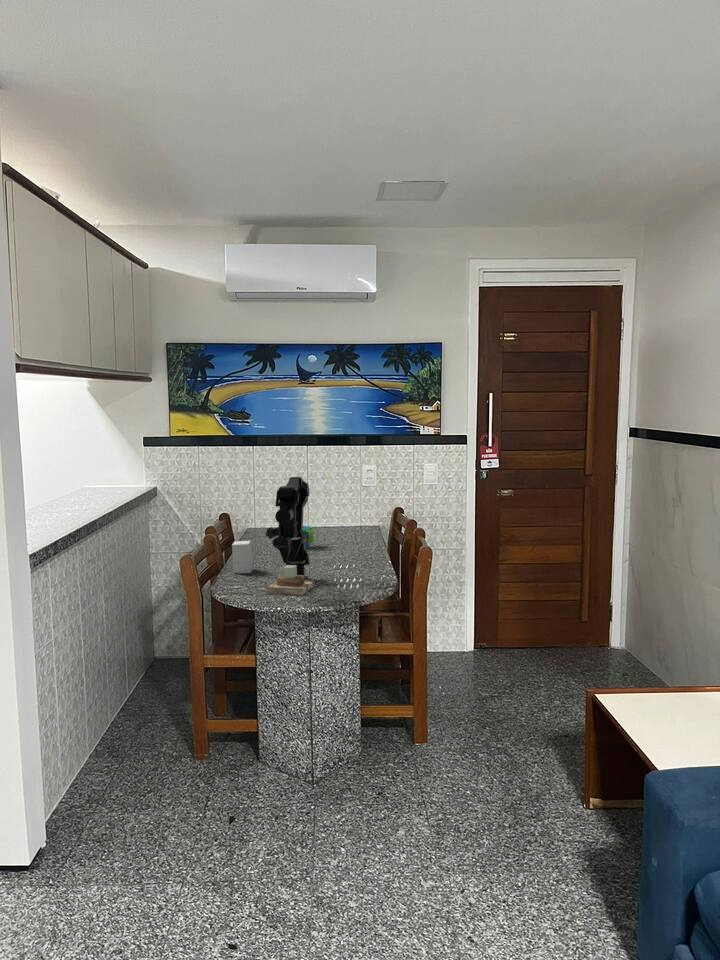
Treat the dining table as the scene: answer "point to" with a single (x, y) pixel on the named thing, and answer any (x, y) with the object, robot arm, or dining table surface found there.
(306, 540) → the snack cup
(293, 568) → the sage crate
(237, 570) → the supplement box
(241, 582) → the dining table surface
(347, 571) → the dining table surface
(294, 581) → the walnut pallet
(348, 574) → the dining table surface
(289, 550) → the robot arm
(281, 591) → the birch dock
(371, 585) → the dining table surface
